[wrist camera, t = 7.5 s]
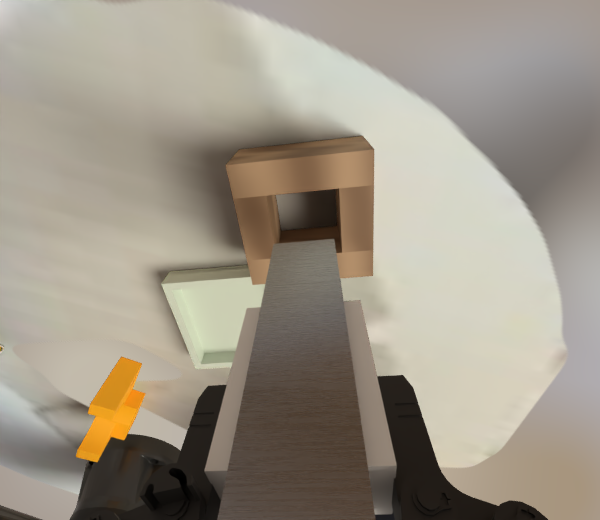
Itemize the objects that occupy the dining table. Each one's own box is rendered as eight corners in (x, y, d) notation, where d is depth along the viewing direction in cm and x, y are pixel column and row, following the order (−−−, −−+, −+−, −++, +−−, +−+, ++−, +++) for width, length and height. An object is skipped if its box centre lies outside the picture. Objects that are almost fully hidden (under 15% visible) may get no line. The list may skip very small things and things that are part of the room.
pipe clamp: (135, 417, 46) (111, 466, 40) (104, 408, 45) (75, 456, 39) (156, 368, 40) (131, 416, 34) (121, 356, 39) (90, 403, 33)
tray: (201, 354, 38) (195, 369, 36) (169, 271, 32) (161, 283, 30) (300, 348, 37) (299, 363, 35) (287, 261, 31) (285, 274, 29)
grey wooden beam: (281, 292, 20) (238, 647, 8) (273, 243, 18) (200, 604, 6) (337, 288, 19) (383, 648, 7) (334, 238, 18) (387, 604, 6)
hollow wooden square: (260, 255, 31) (252, 284, 27) (239, 149, 26) (225, 165, 22) (363, 246, 30) (372, 275, 26) (362, 135, 25) (374, 149, 21)
